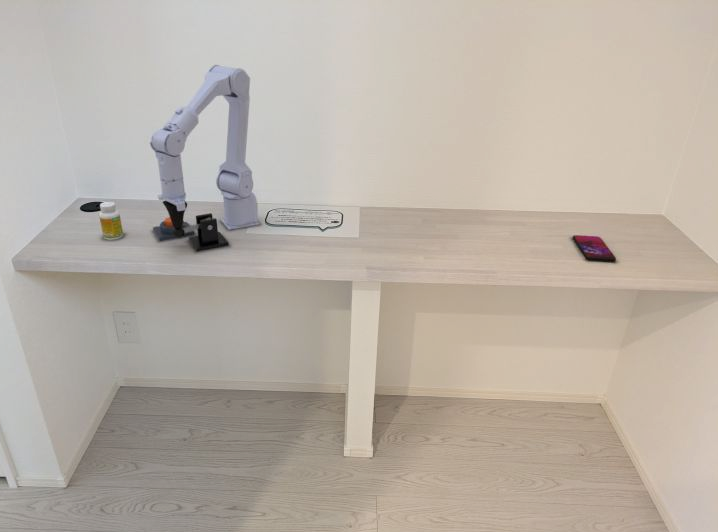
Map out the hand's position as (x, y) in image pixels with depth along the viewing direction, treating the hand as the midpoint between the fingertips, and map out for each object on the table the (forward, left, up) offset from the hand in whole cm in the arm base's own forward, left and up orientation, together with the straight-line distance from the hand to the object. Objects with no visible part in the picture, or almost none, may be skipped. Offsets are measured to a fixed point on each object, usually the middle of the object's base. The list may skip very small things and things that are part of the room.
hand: (177, 227), depth 154 cm
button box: (-1, -11, -6) cm, 13 cm away
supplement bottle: (+15, -16, -7) cm, 23 cm away
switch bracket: (-8, 0, -6) cm, 10 cm away
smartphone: (-103, +49, -6) cm, 114 cm away
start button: (-1, -11, -4) cm, 12 cm away
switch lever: (-4, 0, -3) cm, 5 cm away
